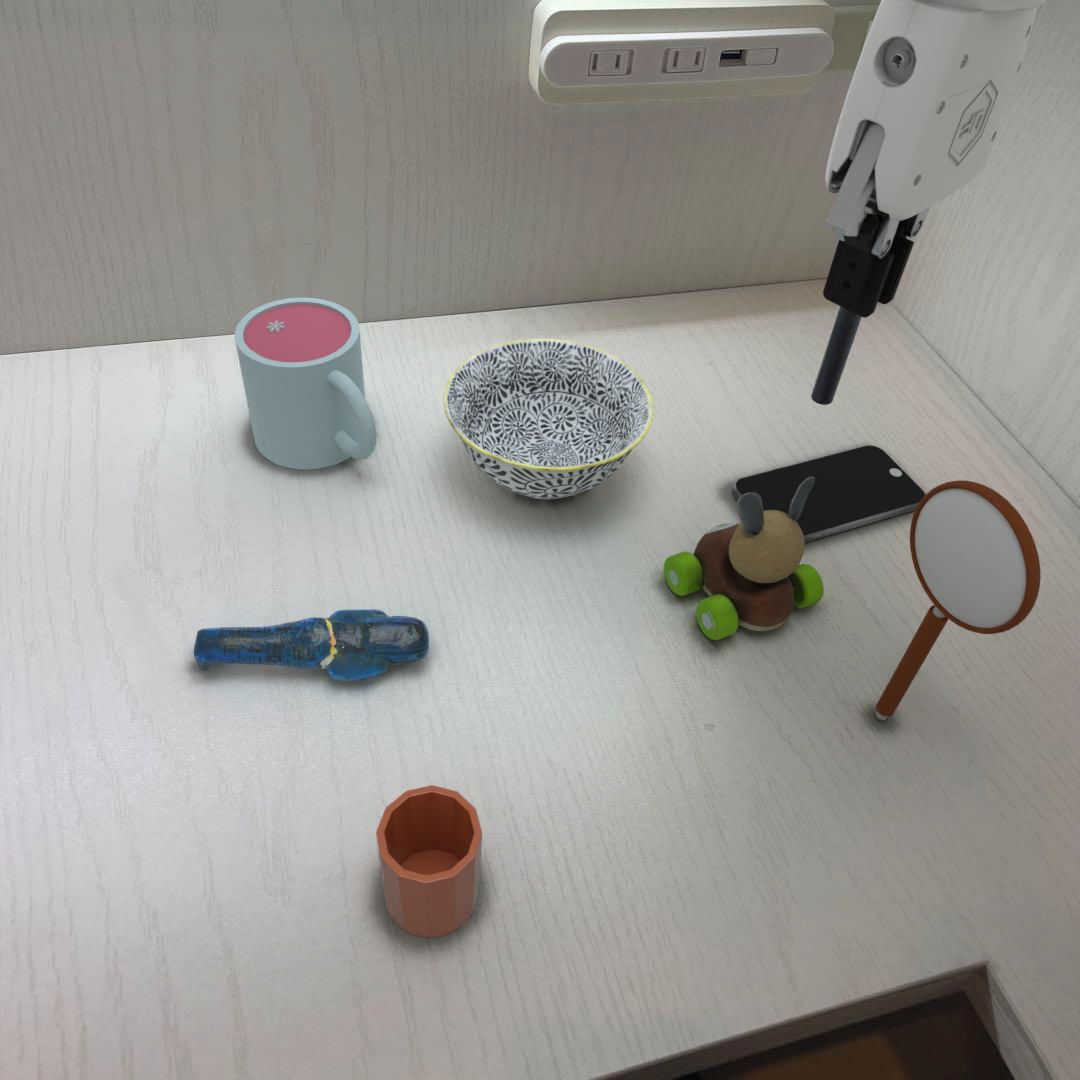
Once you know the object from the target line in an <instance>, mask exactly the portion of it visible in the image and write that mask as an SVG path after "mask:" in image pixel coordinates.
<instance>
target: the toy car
mask: <svg viewBox="0 0 1080 1080" xmlns="http://www.w3.org/2000/svg"><path fill="white" fill-rule="evenodd" d="M814 482H815V478H814V477H809V478H807V479H805V480H804V481H803V482H802V483H801V485H800V486H799V487H798V489H797V491H796V493H795V495H794V497H793V499H792V501H791V504H790V508H789V513H788V514H786V513H784V512H781V511H777V510H766V511H763V507H762V500H761V497H760V496H759V495H758V494H757V493H753V492H749V493H746V494H744V495H742V496H741V497H740V498H739V499H738V500H737V501H736V510H737V513H738V517H739V522H738V523H737V522H728V523H722V524H718V525H716V526H714V527H712V528H710V529H709V530H707V531H706V532H705V533H704V534H703V535H702V536H701V538H700V539H699V541H698V542H697V544H696V546H695V549H694V552H693V553H692V552H690V551H681V552H678V553H675V554H672V555H670V556H668V557H666V559H665V560H664V563H663V573H664V577H665V581H666V583H667V586H668V587H669V589H670V590H671V591H672V592H673V593H674V594H676V595H677V596H680V597H683V596H688V595H689V594H692V593H696V592H697V591H699V590H701V588H702V590H703V591H704V592H705V593H706V594H707V596H708V597H705V598H702V599H701V600H699V602H698V604H697V605H696V610H695V611H696V612H695V613H696V619H697V623H698V625H699V628H700V631H702V633H703V634H704V636H706V637H707V638H709V639H710V640H713V641H718V640H721V639H724V638H727V637H729V636H732V635H734V634H735V633H736V632H737V630H738V628H739V626H741V627H742V628H745V629H746V630H751V631H755V632H766V631H772V630H774V629H777V628H779V627H781V626H782V625H784V624H785V622H786V621H788V620H789V618H790V616H791V614H792V613H793V609H794V607H795V608H797V609H805V608H808V607H810V606H813V605H815V604H817V603H819V602H820V601H821V600H822V598H823V596H824V589H825V587H824V582H823V580H822V576H821V575H820V573H819V571H818V570H817V569H815V568H814V566H812V565H810V564H807V563H801V562H802V559H803V557H804V553H805V545H806V544H805V543H806V542H804V536H803V533H802V530H801V528H800V526H799V525H798V523H797V522H796V520H797V519H798V518H799V516H800V514H801V512H802V509H803V506H804V504H805V501H806V499H807V496H808V494H809V492H810V491H811V489H812V486H813V485H814Z"/></svg>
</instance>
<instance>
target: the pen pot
mask: <svg viewBox="0 0 1080 1080" xmlns="http://www.w3.org/2000/svg"><path fill="white" fill-rule="evenodd" d="M375 835H376V842H377V850H378V858H379V867H380V874H381V875H380V876H381V883H382V890H383V894H384V901H385V902H384V903H385V906H386V911H387V912H388V914H389V915H390V917H391V919H392V921H393V922H394V923H395V924H396V925H397V926H398V927H399V928H400V929H402V930H403V931H405V932H407V933H408V934H411V935H412V936H415V937H421V938H438V937H439V938H440V937H443V936H445V935H449V934H451V933H453V932H455V931H456V930H458V929H459V928H460V927H462V926H463V925H464V924H465V923H466V922H467V921H468V920H469V918H470V917H471V915H472V914H473V912H474V910H475V908H476V906H477V902H478V899H479V898H478V897H479V892H480V889H481V869H482V845H483V831H482V826H481V823H480V819H479V815H478V812H477V809H476V807H475V806H473V804H471V803H470V802H469V800H467V799H466V798H465V797H464V796H463V795H462V794H461V793H460V792H459V791H457V790H454V789H449V788H445V787H442V786H438V785H433V784H431V785H426V786H422V787H418V788H417V787H416V788H413V789H409V790H406V791H404V792H403V793H401V795H399V796H398V797H396V799H394V800H393V801H392V802H391V803H390V804H388V805H387V806H386V807H385V808H384V811H383V814H382V815H381V818H380V821H379V824H378V826H377V828H376V832H375Z"/></svg>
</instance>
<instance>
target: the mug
mask: <svg viewBox="0 0 1080 1080" xmlns="http://www.w3.org/2000/svg"><path fill="white" fill-rule="evenodd" d="M360 331H361V330H360V324H359V321H358V319H357V317H356V316H355V315H354V313H353V312H352V311H350V310H349V309H347V308H346V307H344V306H342V305H340V304H338V303H336V302H334V301H330V300H326V299H322V298H315V297H289V298H283V299H278V300H274V301H270V302H267V303H264V304H262V305H260V306H257V307H256V308H254V309H252V310H251V311H249V312H248V313H247V314H246V315H243V317H242V318H241V319H240V320H239V322H238V324H237V325H236V328H235V331H234V342H235V346H236V353H237V356H238V361H239V368H240V372H241V373H240V374H241V378H242V382H243V387H244V393H245V398H246V402H247V403H246V404H247V408H248V413H249V419H250V423H251V429H252V434H253V439H254V443H255V447H256V449H257V451H258V452H259V454H261V456H263V457H264V458H265V459H266V460H268V461H270V462H271V463H273V464H274V465H277V466H280V467H283V468H287V469H292V470H300V471H302V470H303V471H310V470H321V469H324V468H329V467H333V466H336V465H339V464H341V463H344V462H345V461H347V460H349V459H350V458H353V459H356V460H365V459H367V458H369V457H370V456H371V455H372V454H373V453H374V452H375V448H376V445H377V430H376V429H377V427H376V422H375V420H374V416H373V413H372V411H371V409H370V406H369V404H368V402H367V400H366V390H365V378H364V367H363V355H362V343H361V332H360Z"/></svg>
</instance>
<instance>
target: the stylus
mask: <svg viewBox="0 0 1080 1080" xmlns="http://www.w3.org/2000/svg"><path fill="white" fill-rule="evenodd" d="M869 213H870V214H873V215H875V216H877V217H878V219H879V222H881V219H882V216H883V214H882V213H879V212H877V211H875V210H872V209H870V212H869ZM862 318H863V317H861V316H859V315H857V314H855V313H853V312H851V311H849V310H847V309H845V308H843V307H841V306H839V309H838V312H837V315H836V318H835V321H834V323H833V327H832V330H831V334H830V336H829V340H828V342H827V345H826V348H825V352H824V355H823V358H822V361H821V364H820V367H819V370H818V373H817V377H816V380H815V383H814V385H813V388H812V391H811V395H810V398H811V400H812V401H813V402H814V403H816V404H818V405H821V406H827V405H830V404H832V403H833V401H834V398H835V395H836V393H837V389H838V387H839V383H840V381H841V378H842V375H843V372H844V369H845V366H846V364H847V361H848V358H849V355H850V352H851V349H852V347H853V344H854V340H855V338H856V335H857V333H858V329H859V327H860V324H861V320H862Z"/></svg>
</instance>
